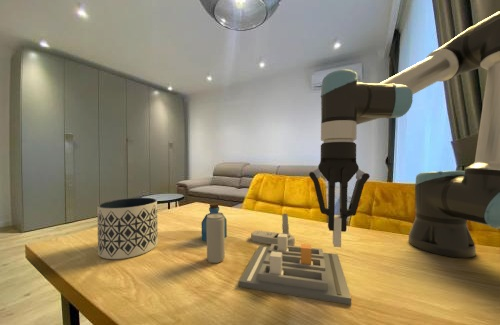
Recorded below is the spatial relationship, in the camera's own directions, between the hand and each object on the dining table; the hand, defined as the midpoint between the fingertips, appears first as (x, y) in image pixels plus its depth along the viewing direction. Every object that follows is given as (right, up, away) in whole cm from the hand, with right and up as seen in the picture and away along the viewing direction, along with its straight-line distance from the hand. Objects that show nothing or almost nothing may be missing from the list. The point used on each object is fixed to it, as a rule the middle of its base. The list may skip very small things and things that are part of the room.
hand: (336, 244), depth 48 cm
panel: (-9, -8, +3) cm, 12 cm away
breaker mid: (-6, -6, +2) cm, 9 cm away
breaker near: (-14, -6, -2) cm, 16 cm away
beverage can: (-29, -8, +9) cm, 32 cm away
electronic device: (-13, -8, +21) cm, 26 cm away
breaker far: (-11, -6, +10) cm, 16 cm away
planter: (-57, -8, +17) cm, 60 cm away
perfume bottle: (-32, -8, +24) cm, 41 cm away
